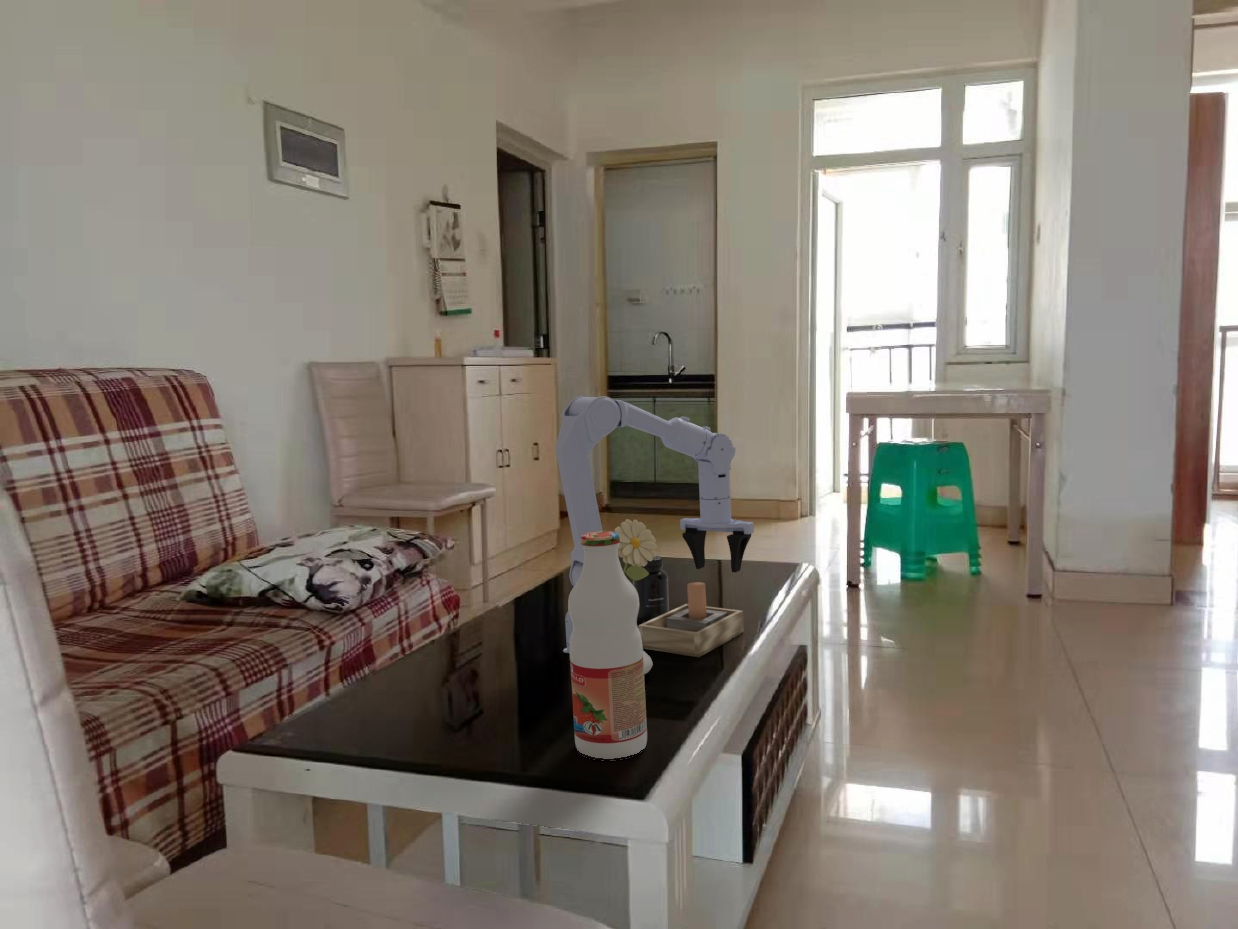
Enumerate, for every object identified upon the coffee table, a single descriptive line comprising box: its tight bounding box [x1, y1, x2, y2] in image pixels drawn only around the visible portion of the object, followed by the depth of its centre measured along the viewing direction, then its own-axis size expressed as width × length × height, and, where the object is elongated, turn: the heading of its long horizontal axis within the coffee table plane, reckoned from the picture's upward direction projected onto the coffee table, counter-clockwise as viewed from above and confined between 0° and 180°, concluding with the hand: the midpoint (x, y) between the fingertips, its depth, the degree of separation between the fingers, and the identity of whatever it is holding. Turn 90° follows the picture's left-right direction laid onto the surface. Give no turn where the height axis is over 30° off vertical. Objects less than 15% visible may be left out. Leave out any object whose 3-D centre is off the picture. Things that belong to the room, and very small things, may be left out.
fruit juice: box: [567, 530, 648, 759], centre depth 119 cm, size 9×9×28 cm
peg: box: [686, 581, 707, 620], centre depth 166 cm, size 3×3×9 cm
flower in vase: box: [614, 518, 658, 675], centre depth 147 cm, size 13×11×25 cm
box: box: [637, 603, 745, 658], centre depth 165 cm, size 16×12×4 cm
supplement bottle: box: [632, 555, 670, 623], centre depth 180 cm, size 7×7×12 cm
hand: (718, 569), depth 173 cm, fingers open, 7 cm apart
